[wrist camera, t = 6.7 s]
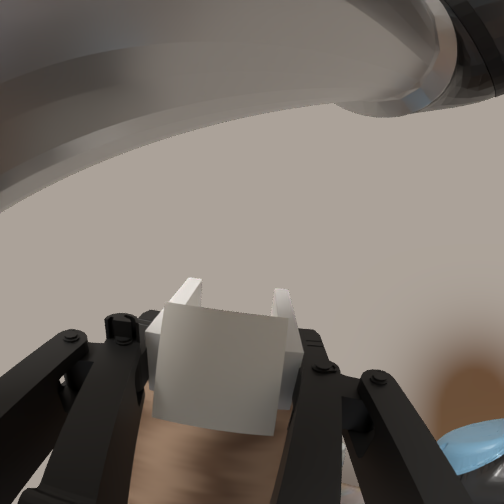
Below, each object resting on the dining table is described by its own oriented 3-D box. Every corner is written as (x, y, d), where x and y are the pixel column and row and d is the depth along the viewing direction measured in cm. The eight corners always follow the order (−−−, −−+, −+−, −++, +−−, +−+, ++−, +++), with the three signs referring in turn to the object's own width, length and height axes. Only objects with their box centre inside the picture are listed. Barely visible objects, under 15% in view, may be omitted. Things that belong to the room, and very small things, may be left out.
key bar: (255, 370, 25) (260, 328, 26) (273, 436, 8) (288, 318, 9) (211, 364, 25) (217, 322, 26) (152, 417, 8) (165, 301, 9)
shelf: (268, 560, 20) (306, 343, 30) (277, 623, 7) (351, 342, 17) (158, 545, 20) (171, 327, 30) (129, 603, 7) (120, 313, 17)
